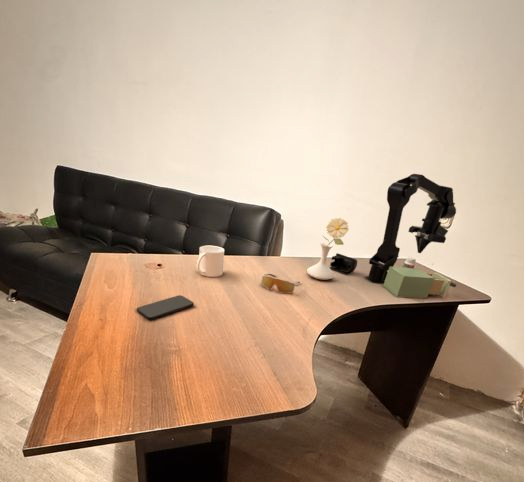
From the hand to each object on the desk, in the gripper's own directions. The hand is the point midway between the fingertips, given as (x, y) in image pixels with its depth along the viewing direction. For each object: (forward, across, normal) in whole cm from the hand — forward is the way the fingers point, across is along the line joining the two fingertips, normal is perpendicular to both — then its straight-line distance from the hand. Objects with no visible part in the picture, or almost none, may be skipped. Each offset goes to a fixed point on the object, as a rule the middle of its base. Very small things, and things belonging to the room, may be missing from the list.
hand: (419, 252), depth 138 cm
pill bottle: (+12, +3, +1) cm, 13 cm away
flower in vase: (+12, -9, +47) cm, 50 cm away
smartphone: (+12, -44, +105) cm, 115 cm away
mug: (+12, -13, +94) cm, 96 cm away
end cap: (+12, +2, +34) cm, 36 cm away
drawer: (+11, -18, +3) cm, 21 cm away
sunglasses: (+12, -21, +67) cm, 71 cm away
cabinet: (+12, -18, +14) cm, 26 cm away
